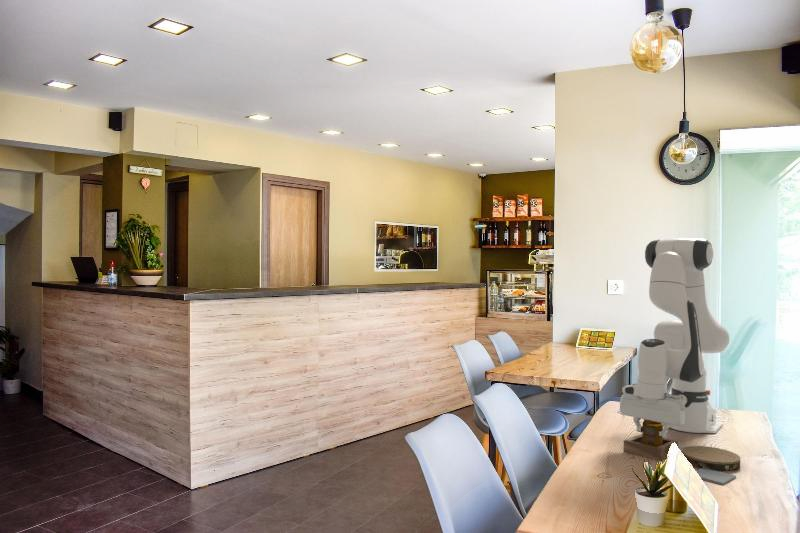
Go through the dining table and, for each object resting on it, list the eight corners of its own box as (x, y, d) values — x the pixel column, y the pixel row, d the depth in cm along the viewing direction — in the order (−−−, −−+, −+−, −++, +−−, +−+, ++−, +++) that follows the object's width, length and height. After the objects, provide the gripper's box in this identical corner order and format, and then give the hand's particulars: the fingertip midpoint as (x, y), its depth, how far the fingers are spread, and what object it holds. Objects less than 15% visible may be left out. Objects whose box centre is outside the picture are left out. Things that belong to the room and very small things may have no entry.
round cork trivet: (735, 459, 195) (735, 449, 195) (744, 475, 180) (745, 465, 180) (679, 453, 200) (680, 443, 200) (684, 468, 185) (684, 458, 185)
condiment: (668, 452, 199) (669, 415, 199) (651, 457, 194) (652, 418, 194) (648, 446, 205) (648, 410, 205) (631, 450, 200) (632, 413, 200)
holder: (643, 444, 208) (643, 433, 208) (677, 452, 200) (677, 441, 199) (623, 451, 200) (623, 440, 200) (659, 460, 191) (659, 449, 191)
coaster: (703, 469, 184) (703, 467, 184) (735, 477, 177) (736, 475, 177) (689, 476, 178) (689, 474, 178) (722, 485, 171) (723, 482, 171)
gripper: (689, 395, 194) (688, 439, 194) (627, 384, 209) (626, 426, 209) (680, 398, 189) (679, 443, 190) (617, 386, 205) (616, 429, 205)
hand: (651, 434), depth 199 cm, fingers closed on condiment, 6 cm apart
